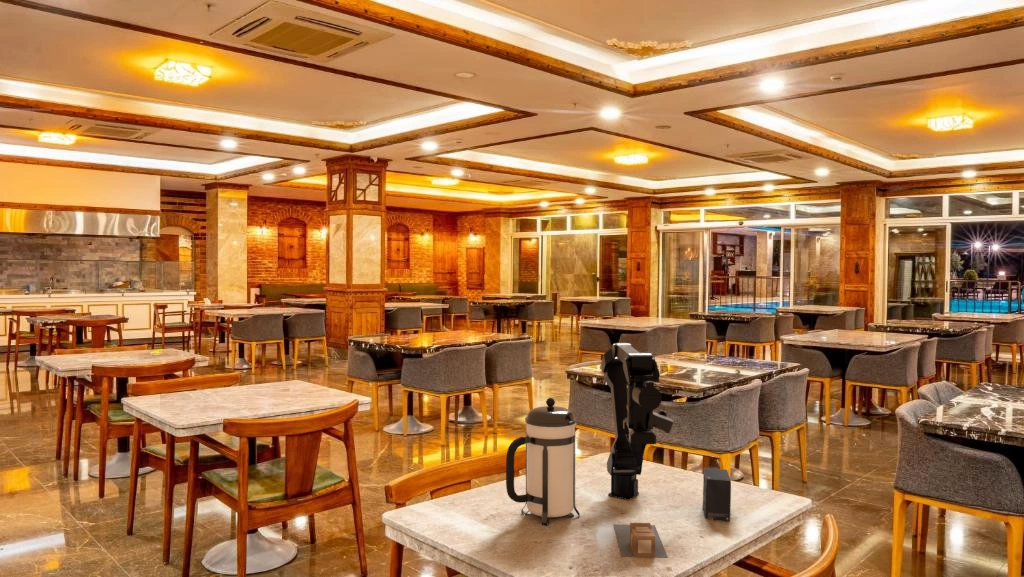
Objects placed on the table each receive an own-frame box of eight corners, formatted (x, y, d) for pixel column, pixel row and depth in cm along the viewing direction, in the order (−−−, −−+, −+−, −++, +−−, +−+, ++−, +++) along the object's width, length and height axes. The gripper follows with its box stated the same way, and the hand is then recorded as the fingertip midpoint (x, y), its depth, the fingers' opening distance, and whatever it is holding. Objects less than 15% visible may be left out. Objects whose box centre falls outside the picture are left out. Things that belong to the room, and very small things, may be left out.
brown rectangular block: (629, 521, 160) (633, 535, 152) (649, 522, 160) (655, 535, 152) (628, 542, 161) (633, 556, 152) (649, 542, 160) (655, 557, 152)
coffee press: (527, 503, 189) (527, 391, 188) (586, 510, 184) (586, 394, 183) (505, 525, 173) (505, 402, 172) (568, 533, 167) (569, 406, 167)
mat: (613, 526, 172) (613, 524, 172) (654, 527, 171) (654, 525, 171) (621, 558, 152) (621, 556, 152) (668, 560, 152) (668, 557, 152)
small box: (731, 522, 175) (732, 480, 175) (704, 520, 176) (704, 478, 176) (727, 508, 185) (728, 468, 185) (701, 506, 187) (702, 467, 186)
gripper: (677, 410, 170) (677, 475, 170) (665, 396, 188) (664, 454, 189) (630, 409, 170) (630, 474, 171) (623, 396, 189) (622, 454, 189)
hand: (638, 464), depth 180 cm, fingers closed
